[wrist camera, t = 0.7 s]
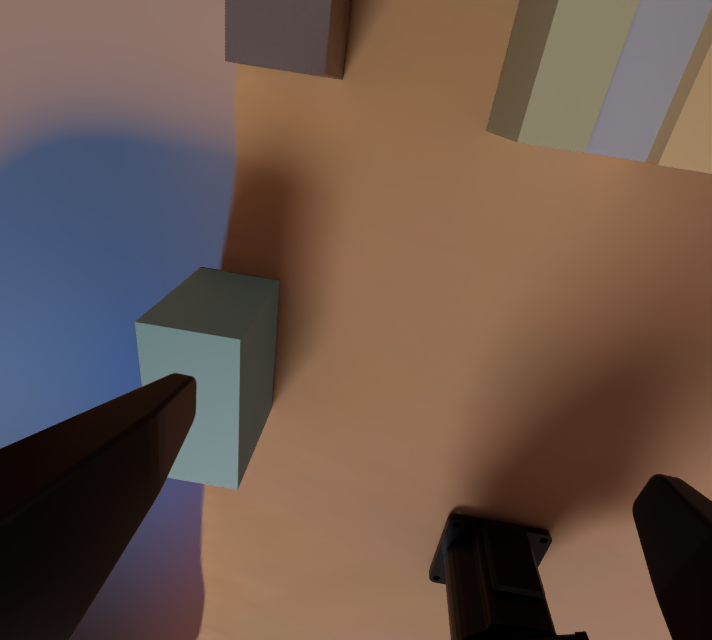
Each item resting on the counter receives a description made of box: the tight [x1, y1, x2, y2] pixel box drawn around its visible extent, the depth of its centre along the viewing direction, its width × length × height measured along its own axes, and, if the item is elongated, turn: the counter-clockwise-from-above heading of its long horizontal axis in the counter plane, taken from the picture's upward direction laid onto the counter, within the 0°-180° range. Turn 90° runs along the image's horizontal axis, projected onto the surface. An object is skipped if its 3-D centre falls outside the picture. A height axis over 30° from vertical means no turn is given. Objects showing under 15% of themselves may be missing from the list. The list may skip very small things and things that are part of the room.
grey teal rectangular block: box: [135, 267, 280, 490], centre depth 21 cm, size 8×4×6 cm, turn 172°
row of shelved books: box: [486, 0, 712, 174], centre depth 13 cm, size 8×6×6 cm
